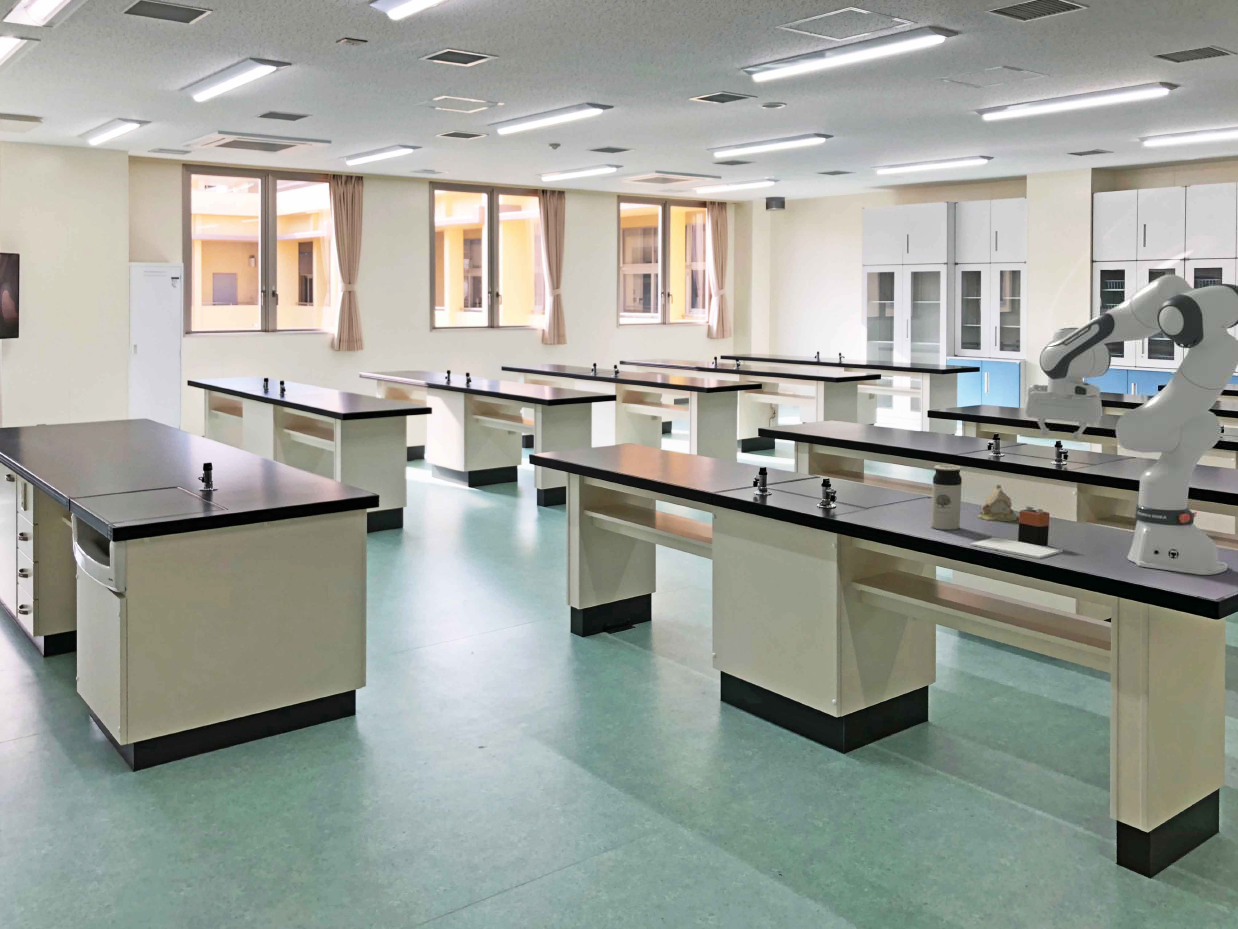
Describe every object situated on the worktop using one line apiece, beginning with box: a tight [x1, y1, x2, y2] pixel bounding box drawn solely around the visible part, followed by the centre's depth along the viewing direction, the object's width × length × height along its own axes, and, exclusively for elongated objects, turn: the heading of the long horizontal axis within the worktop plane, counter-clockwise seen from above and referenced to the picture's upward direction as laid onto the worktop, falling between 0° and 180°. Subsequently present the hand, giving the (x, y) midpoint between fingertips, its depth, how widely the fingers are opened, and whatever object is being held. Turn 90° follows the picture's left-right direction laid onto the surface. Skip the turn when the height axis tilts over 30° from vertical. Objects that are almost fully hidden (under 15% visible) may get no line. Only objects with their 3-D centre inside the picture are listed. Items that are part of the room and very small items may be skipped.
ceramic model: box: [978, 484, 1018, 522], centre depth 336 cm, size 14×11×10 cm
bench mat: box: [969, 536, 1064, 560], centre depth 293 cm, size 20×12×1 cm, turn 40°
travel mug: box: [930, 464, 963, 531], centre depth 319 cm, size 8×8×18 cm
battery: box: [1017, 506, 1050, 547], centre depth 298 cm, size 4×7×10 cm, turn 33°
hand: (1060, 436), depth 305 cm, fingers open, 8 cm apart
